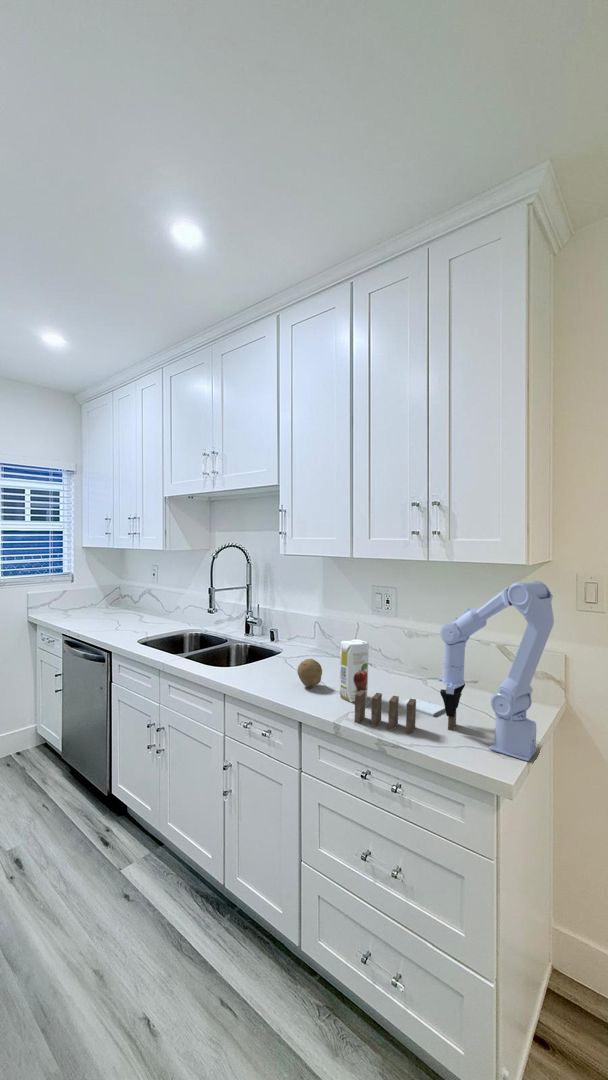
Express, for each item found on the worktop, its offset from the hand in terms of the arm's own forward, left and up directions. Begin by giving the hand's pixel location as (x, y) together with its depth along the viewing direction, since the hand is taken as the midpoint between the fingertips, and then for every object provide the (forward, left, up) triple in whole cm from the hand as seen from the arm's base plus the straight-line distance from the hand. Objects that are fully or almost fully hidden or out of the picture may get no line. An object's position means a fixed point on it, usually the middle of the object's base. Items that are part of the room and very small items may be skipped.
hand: (452, 711), depth 135 cm
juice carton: (+34, 0, -5) cm, 34 cm away
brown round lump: (+52, +1, -5) cm, 52 cm away
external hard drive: (+13, -8, -5) cm, 16 cm away
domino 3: (+13, +12, -4) cm, 18 cm away
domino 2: (+17, +13, -4) cm, 22 cm away
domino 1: (+22, +14, -4) cm, 27 cm away
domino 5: (0, 0, -4) cm, 4 cm away
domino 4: (+8, +10, -4) cm, 14 cm away
